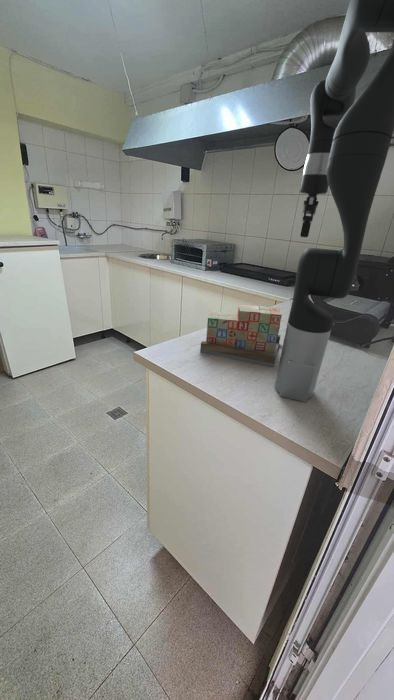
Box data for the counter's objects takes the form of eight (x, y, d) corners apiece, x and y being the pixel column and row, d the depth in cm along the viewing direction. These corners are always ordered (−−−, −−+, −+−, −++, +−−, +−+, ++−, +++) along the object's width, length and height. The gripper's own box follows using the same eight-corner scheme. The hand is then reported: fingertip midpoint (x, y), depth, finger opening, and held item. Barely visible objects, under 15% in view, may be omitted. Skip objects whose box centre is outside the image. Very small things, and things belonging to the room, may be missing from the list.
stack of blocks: (205, 345, 88) (207, 308, 83) (207, 337, 94) (209, 301, 88) (275, 352, 87) (282, 314, 81) (272, 343, 92) (279, 307, 87)
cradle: (273, 367, 81) (275, 357, 79) (200, 351, 87) (200, 343, 85) (279, 343, 95) (280, 335, 94) (216, 331, 101) (216, 324, 100)
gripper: (332, 171, 73) (317, 238, 80) (329, 177, 85) (316, 235, 92) (302, 170, 75) (290, 236, 82) (303, 176, 87) (292, 233, 94)
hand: (304, 236), depth 87 cm, fingers open, 8 cm apart
